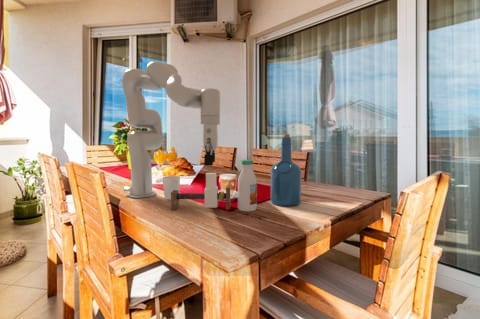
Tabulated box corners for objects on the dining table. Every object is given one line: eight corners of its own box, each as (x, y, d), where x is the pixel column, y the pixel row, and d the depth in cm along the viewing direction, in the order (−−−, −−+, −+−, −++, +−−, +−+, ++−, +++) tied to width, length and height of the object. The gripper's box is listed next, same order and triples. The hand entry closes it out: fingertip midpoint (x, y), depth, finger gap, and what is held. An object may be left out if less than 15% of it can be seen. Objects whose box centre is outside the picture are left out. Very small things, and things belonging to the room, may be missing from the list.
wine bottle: (273, 198, 126) (274, 133, 123) (302, 200, 122) (304, 133, 119) (266, 205, 113) (267, 134, 110) (298, 208, 109) (300, 134, 106)
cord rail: (171, 210, 108) (170, 188, 107) (174, 206, 113) (173, 185, 112) (229, 209, 108) (229, 187, 107) (230, 206, 113) (230, 185, 112)
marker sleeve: (204, 207, 108) (204, 174, 106) (206, 203, 113) (205, 172, 112) (217, 207, 108) (216, 174, 106) (218, 203, 113) (217, 172, 112)
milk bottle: (243, 213, 103) (243, 161, 101) (234, 208, 110) (234, 159, 108) (260, 210, 107) (260, 160, 105) (250, 205, 114) (250, 158, 112)
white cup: (176, 200, 123) (175, 178, 121) (160, 199, 124) (159, 178, 123) (183, 196, 130) (182, 176, 129) (168, 195, 132) (167, 175, 131)
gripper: (218, 120, 98) (217, 167, 100) (221, 121, 115) (220, 160, 117) (197, 120, 98) (197, 166, 100) (203, 121, 115) (203, 160, 117)
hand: (209, 163), depth 109 cm, fingers open, 9 cm apart
